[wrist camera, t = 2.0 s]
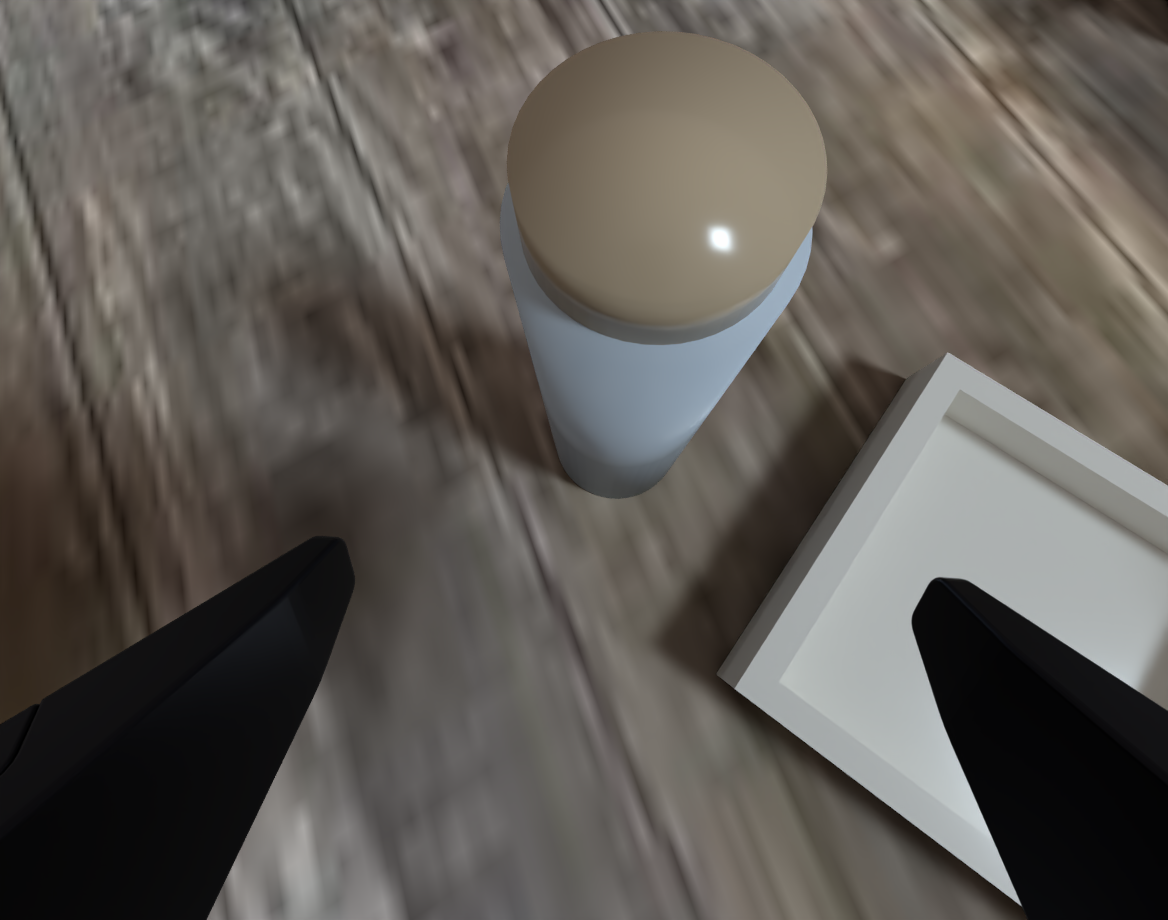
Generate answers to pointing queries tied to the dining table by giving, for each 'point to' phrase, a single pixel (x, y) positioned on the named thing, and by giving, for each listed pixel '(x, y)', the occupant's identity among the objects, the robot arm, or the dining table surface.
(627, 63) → the spice jar
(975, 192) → the dining table surface
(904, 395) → the white square dish
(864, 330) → the dining table surface
